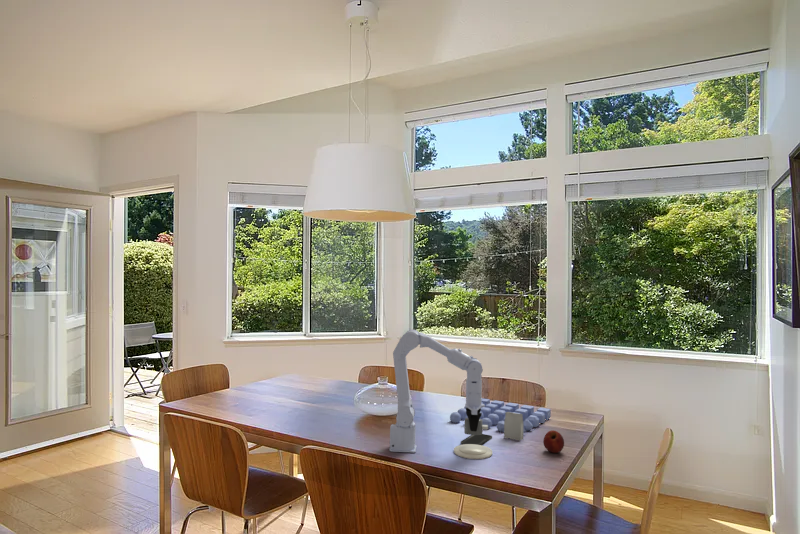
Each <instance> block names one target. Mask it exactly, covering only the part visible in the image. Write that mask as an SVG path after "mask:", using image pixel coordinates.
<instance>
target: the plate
mask: <svg viewBox="0 0 800 534" xmlns="http://www.w3.org/2000/svg"><path fill="white" fill-rule="evenodd" d="M453 453H454V454H455V455H456V456H458V457H460V458H463V459H469V460H484V459H488V458H490V457H492V456H493V449H491V448H490V447H488V446H486V445H476V444H463V445H462V444H460V445H459V444H458V445H456V446H455V447H453Z"/></svg>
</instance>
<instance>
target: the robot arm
mask: <svg viewBox="0 0 800 534" xmlns="http://www.w3.org/2000/svg"><path fill="white" fill-rule="evenodd" d="M418 347H419V349H420V348H429V349H431V350H432V351H435V352H437V353H438V354H440V355H442V356H444V357H446V359H447V361H448V363H450V364H451V365H453V366H455V367H457V368H459V369H460V370H462V371H466V380H465V404H464V407H465V406H466V407H467V408H466V414H467V416H468V419H469V424H470V430H471V431H477V427H478V422H479V419H480V417H481V415H482V413H480V411H481V407H485V405H484V404H481V403H482V398H483V397H482V394H483V393H482V392H483V391H482V389H483V388H482V387H483V381H482V377H483V376H482V373H483V370H484V368H483V365H482V363H481V361H480V360H478V358H474V356H473V355H468V354H467V353H465V352H463V351H462V349H461V348H449V347H448V346H445V344H442V343H441V342H440V341H437V340H436V339H434V338H433V337H431V336H429V335H427V334H426V333H424V332H420V331H418V330H417V329H413V328H412V329H409V330H407V331H406V332H405V333H404V334H403V335H402V336H401V337H400V338H399V341H398V342H397V344H396V346H395V348H394V350H393V352H392V356H393V366H394V375H395V376H394V377H395V384H396V394H397V415H396V419H395V420H396V422H395V424H393V423H392V424H391V425H390V427H389V428H390V429H389V452H395V453H416V450H417V446H418V445H417V444H416V423H415V421H414V419H415V415H416V409H415V408H414V406H413V404H412V403H413V402H412V399H411V391H410V385H409V384H410V382H409V373H408V366H407V365H408V363H407V355H408V354H409V353H410V352H411V351H413V350H415V349H416V348H418Z"/></svg>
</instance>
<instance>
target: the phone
mask: <svg viewBox="0 0 800 534" xmlns="http://www.w3.org/2000/svg"><path fill="white" fill-rule="evenodd" d="M492 439H493V435H490V434H486V433H485V434H484V433H482V435H469V436H467V437H466V438H464V439H462V440H461V441H460V445H463V444H476V445H482V446H484V444H486V443H488V442H489V441H491V440H492Z"/></svg>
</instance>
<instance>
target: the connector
mask: <svg viewBox="0 0 800 534" xmlns="http://www.w3.org/2000/svg"><path fill="white" fill-rule="evenodd" d="M483 430H489V429H488V425H482V419H479V422H478V427H477V431H471V430H470V424H469V419H468V418H466V419H465V420H464V434H465V435H469V436H470V435H482V434H483Z"/></svg>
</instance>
